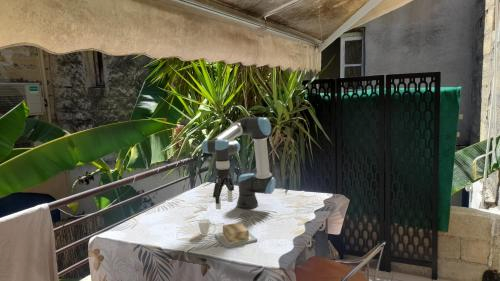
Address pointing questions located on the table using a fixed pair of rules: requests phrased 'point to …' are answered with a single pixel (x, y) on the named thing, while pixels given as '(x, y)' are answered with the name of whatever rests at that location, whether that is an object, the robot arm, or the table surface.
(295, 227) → the table surface
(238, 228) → the oak block
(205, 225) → the cup
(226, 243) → the build board
